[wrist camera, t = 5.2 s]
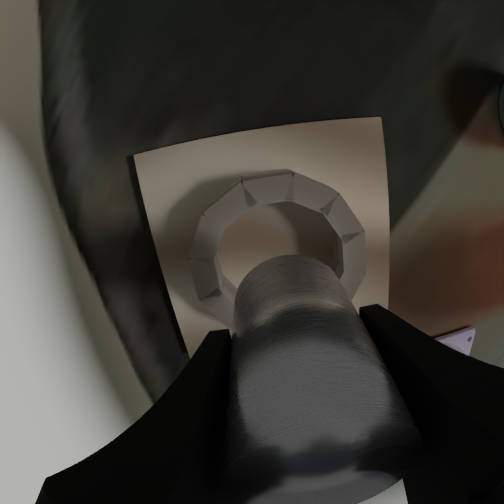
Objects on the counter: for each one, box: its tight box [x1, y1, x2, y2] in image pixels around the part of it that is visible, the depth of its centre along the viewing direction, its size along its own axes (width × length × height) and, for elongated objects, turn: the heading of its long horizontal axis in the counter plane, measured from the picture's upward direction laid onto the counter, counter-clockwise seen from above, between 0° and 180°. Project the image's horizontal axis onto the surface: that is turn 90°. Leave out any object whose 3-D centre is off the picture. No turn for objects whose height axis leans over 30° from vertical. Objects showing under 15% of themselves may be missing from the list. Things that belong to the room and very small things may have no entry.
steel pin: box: [222, 254, 423, 504], centre depth 8 cm, size 4×4×7 cm
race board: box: [133, 117, 390, 359], centre depth 16 cm, size 13×13×3 cm
